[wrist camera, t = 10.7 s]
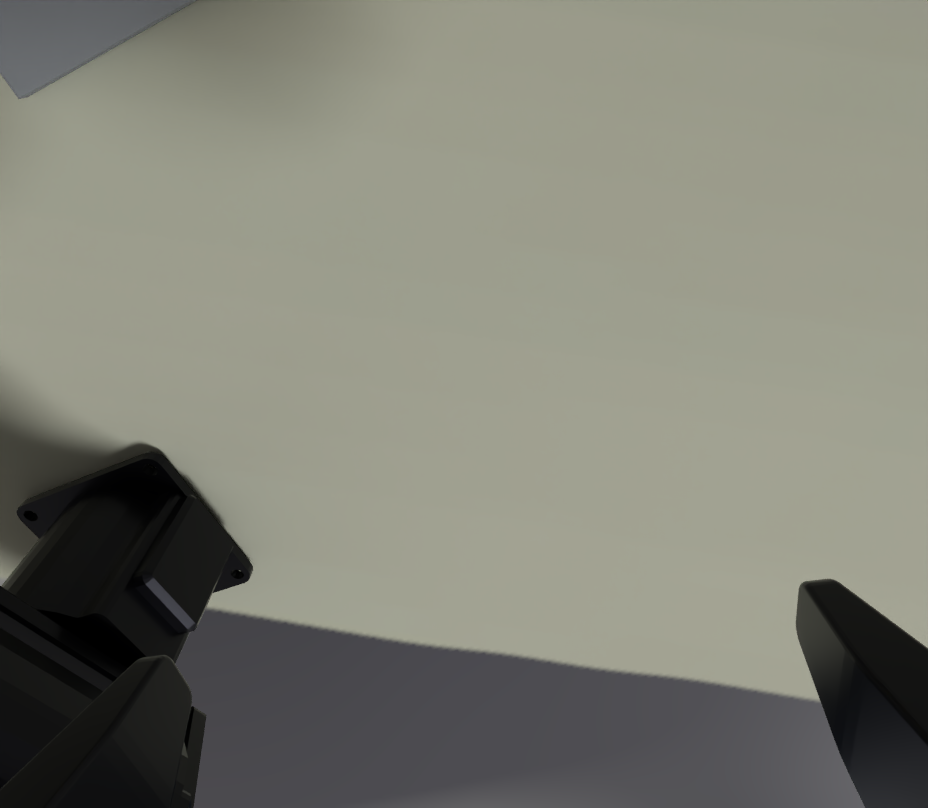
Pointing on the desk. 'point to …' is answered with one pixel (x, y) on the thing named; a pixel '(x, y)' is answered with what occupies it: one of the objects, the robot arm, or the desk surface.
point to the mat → (68, 35)
